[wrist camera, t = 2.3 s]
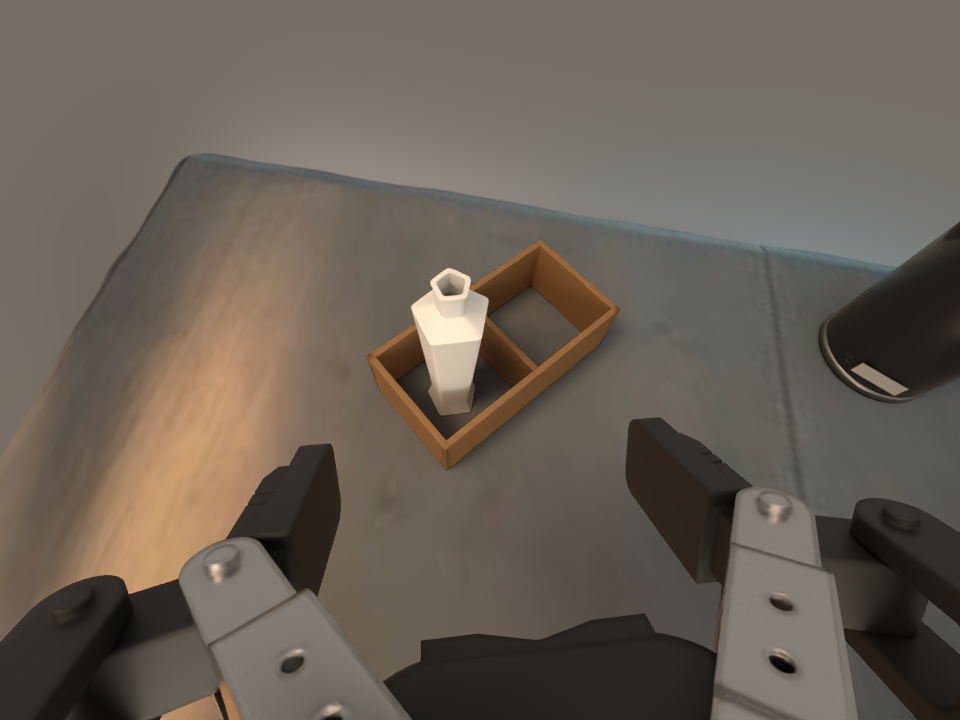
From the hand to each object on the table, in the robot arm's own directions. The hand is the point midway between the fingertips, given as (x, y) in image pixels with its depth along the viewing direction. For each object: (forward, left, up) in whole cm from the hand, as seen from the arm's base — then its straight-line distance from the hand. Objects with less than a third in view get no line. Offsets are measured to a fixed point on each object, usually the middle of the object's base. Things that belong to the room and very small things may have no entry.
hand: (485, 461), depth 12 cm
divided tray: (-11, -10, -23) cm, 27 cm away
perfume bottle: (-7, -10, -23) cm, 26 cm away
